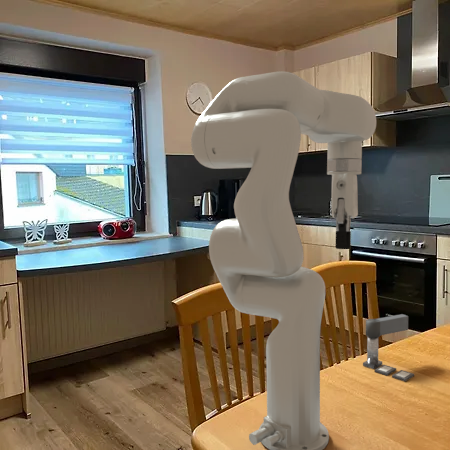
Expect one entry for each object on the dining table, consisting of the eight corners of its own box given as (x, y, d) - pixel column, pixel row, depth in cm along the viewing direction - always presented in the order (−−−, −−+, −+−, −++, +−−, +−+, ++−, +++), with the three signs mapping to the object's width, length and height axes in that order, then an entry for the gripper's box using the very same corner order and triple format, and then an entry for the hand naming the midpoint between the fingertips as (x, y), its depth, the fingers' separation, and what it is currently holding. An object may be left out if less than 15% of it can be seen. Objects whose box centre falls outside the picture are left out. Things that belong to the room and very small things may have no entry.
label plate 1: (386, 375, 110) (386, 373, 110) (374, 371, 113) (374, 369, 113) (396, 370, 113) (396, 367, 113) (384, 366, 116) (384, 364, 116)
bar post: (373, 369, 114) (374, 340, 113) (362, 365, 116) (363, 337, 116) (382, 364, 117) (382, 336, 116) (371, 361, 119) (371, 333, 118)
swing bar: (410, 330, 118) (410, 316, 118) (372, 338, 114) (372, 323, 113) (400, 326, 122) (400, 313, 121) (362, 334, 117) (362, 320, 116)
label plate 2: (405, 381, 107) (405, 379, 107) (392, 377, 109) (392, 374, 109) (414, 375, 110) (414, 373, 110) (401, 371, 112) (401, 369, 112)
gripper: (358, 166, 97) (356, 253, 99) (364, 169, 111) (362, 245, 113) (321, 166, 100) (321, 252, 101) (332, 169, 114) (331, 244, 115)
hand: (343, 248), depth 107 cm, fingers closed
